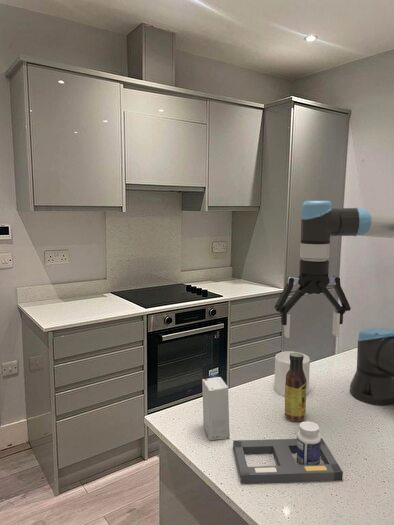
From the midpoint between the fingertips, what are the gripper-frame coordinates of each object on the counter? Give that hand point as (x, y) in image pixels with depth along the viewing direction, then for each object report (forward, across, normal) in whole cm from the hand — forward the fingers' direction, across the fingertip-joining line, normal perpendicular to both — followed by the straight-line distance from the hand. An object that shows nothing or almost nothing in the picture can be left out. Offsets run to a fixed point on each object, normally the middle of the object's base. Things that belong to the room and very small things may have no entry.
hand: (311, 336), depth 111 cm
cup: (+29, -3, -27) cm, 40 cm away
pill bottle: (+29, +4, +13) cm, 32 cm away
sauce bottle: (+29, +1, -9) cm, 30 cm away
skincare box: (+29, +26, -2) cm, 39 cm away
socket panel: (+29, +10, +13) cm, 33 cm away
